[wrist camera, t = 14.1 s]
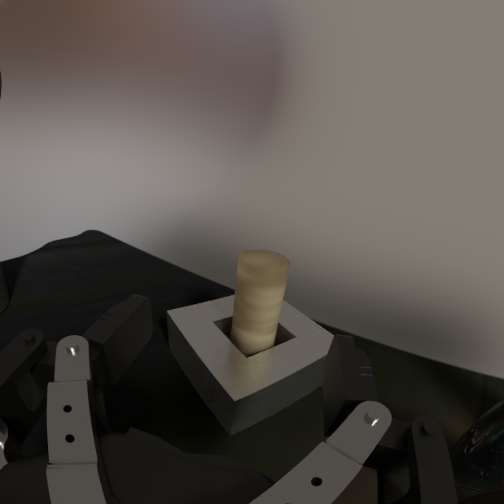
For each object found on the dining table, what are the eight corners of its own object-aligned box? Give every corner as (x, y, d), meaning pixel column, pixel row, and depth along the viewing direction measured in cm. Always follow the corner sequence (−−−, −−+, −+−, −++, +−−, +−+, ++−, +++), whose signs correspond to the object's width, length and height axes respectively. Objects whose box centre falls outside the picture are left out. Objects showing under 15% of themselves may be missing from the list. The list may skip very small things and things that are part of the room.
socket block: (169, 349, 27) (166, 310, 25) (259, 321, 34) (265, 287, 32) (230, 435, 18) (234, 401, 17) (330, 379, 25) (345, 343, 24)
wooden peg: (220, 362, 26) (228, 253, 22) (252, 351, 29) (268, 247, 24) (242, 388, 24) (259, 274, 19) (275, 373, 26) (300, 265, 21)
